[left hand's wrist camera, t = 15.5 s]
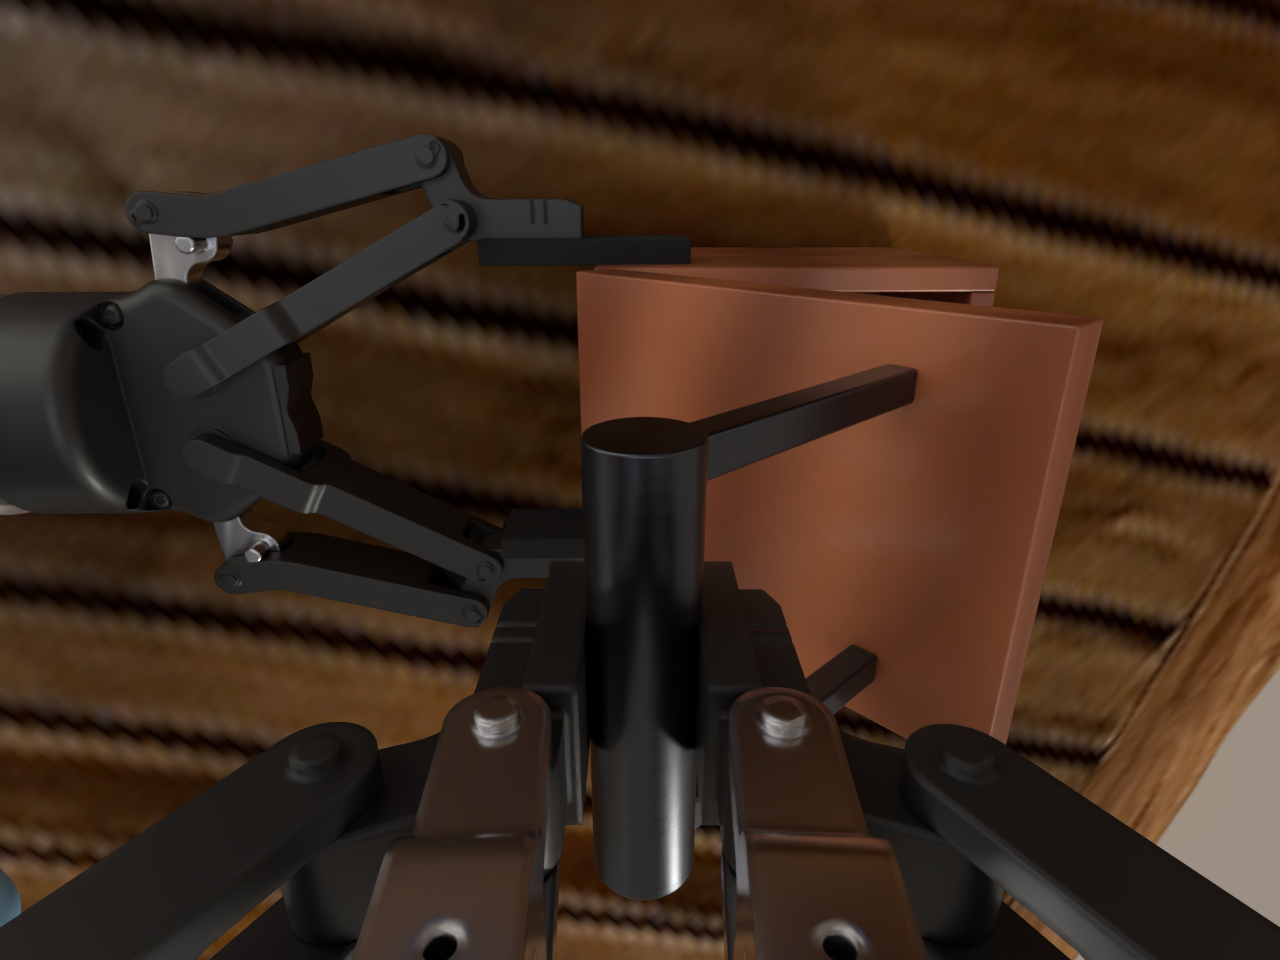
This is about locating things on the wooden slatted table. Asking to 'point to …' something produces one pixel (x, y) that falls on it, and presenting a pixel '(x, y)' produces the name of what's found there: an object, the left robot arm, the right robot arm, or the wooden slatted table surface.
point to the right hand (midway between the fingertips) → (683, 400)
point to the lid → (807, 513)
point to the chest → (843, 271)
